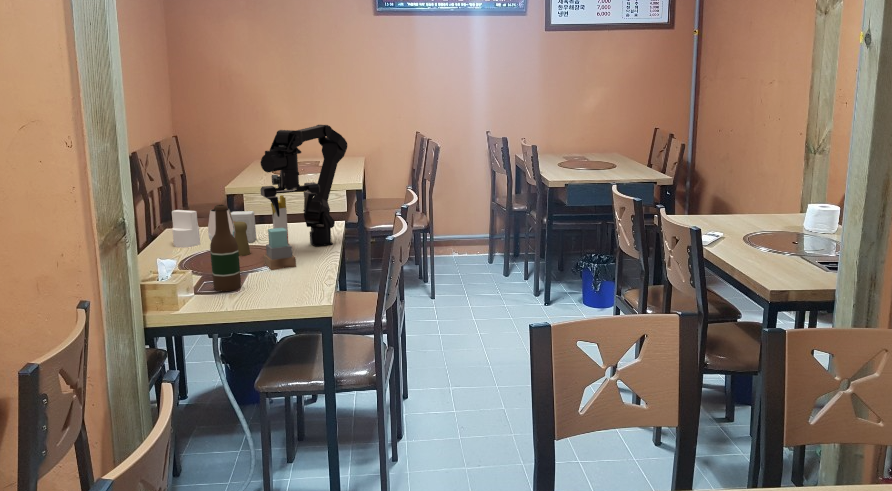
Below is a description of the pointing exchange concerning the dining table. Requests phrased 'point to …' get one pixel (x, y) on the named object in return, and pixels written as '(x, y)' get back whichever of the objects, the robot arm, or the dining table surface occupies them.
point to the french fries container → (282, 219)
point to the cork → (241, 238)
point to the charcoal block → (279, 252)
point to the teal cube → (277, 237)
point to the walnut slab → (280, 262)
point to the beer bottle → (224, 254)
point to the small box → (248, 219)
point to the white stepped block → (185, 228)
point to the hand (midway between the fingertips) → (292, 215)
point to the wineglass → (213, 224)
